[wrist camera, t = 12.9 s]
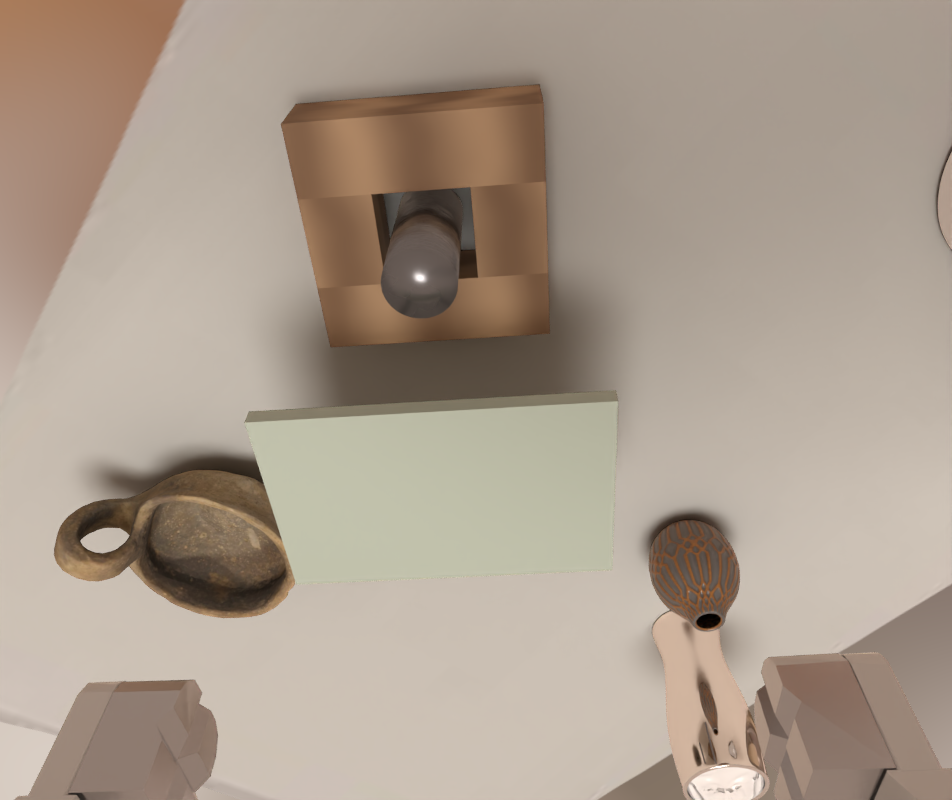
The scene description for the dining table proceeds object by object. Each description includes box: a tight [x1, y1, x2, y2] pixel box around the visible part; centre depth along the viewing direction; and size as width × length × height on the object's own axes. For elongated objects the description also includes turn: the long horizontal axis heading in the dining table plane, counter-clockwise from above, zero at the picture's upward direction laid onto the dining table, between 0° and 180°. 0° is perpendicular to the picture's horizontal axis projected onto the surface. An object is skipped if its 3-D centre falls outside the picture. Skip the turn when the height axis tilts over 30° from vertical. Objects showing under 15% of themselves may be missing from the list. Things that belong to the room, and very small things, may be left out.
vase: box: [649, 520, 740, 632], centre depth 60 cm, size 7×7×9 cm
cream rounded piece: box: [652, 611, 769, 800], centre depth 65 cm, size 7×7×15 cm
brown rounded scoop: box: [54, 470, 295, 618], centre depth 58 cm, size 14×18×10 cm
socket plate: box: [281, 85, 550, 347], centre depth 46 cm, size 14×14×4 cm
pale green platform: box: [244, 390, 618, 585], centre depth 50 cm, size 20×13×13 cm, turn 94°
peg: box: [381, 189, 463, 319], centre depth 44 cm, size 4×4×10 cm
